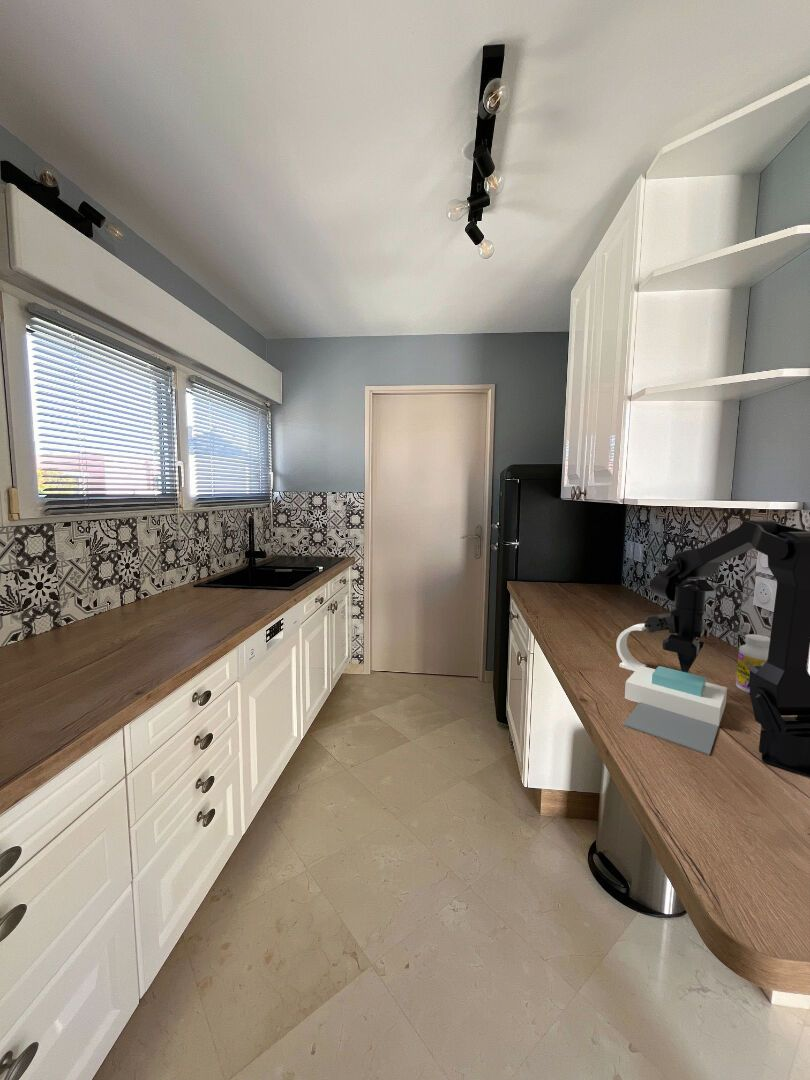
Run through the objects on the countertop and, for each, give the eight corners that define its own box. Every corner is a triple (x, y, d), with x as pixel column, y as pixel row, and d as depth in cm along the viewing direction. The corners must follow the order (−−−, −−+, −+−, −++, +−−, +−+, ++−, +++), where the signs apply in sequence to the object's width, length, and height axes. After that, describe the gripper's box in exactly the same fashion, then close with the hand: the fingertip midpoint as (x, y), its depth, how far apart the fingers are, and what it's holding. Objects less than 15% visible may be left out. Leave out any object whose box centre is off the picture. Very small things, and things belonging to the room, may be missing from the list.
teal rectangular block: (705, 687, 89) (706, 677, 89) (700, 696, 85) (701, 686, 85) (658, 674, 96) (658, 665, 95) (651, 683, 91) (652, 674, 91)
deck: (725, 704, 90) (727, 687, 89) (718, 727, 81) (720, 708, 81) (639, 681, 101) (640, 665, 101) (624, 698, 93) (625, 681, 92)
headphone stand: (639, 672, 106) (641, 627, 105) (615, 665, 111) (617, 622, 109) (646, 667, 109) (648, 624, 108) (622, 661, 114) (624, 619, 112)
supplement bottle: (728, 683, 100) (732, 632, 98) (756, 683, 100) (761, 632, 98) (750, 696, 93) (755, 642, 92) (780, 697, 93) (786, 642, 91)
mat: (718, 727, 81) (718, 726, 81) (709, 755, 72) (709, 753, 72) (639, 703, 91) (639, 701, 90) (623, 725, 82) (623, 724, 82)
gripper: (658, 593, 106) (654, 652, 107) (638, 608, 92) (634, 674, 94) (711, 601, 98) (707, 663, 100) (698, 618, 85) (693, 690, 86)
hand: (684, 672), depth 95 cm, fingers closed
